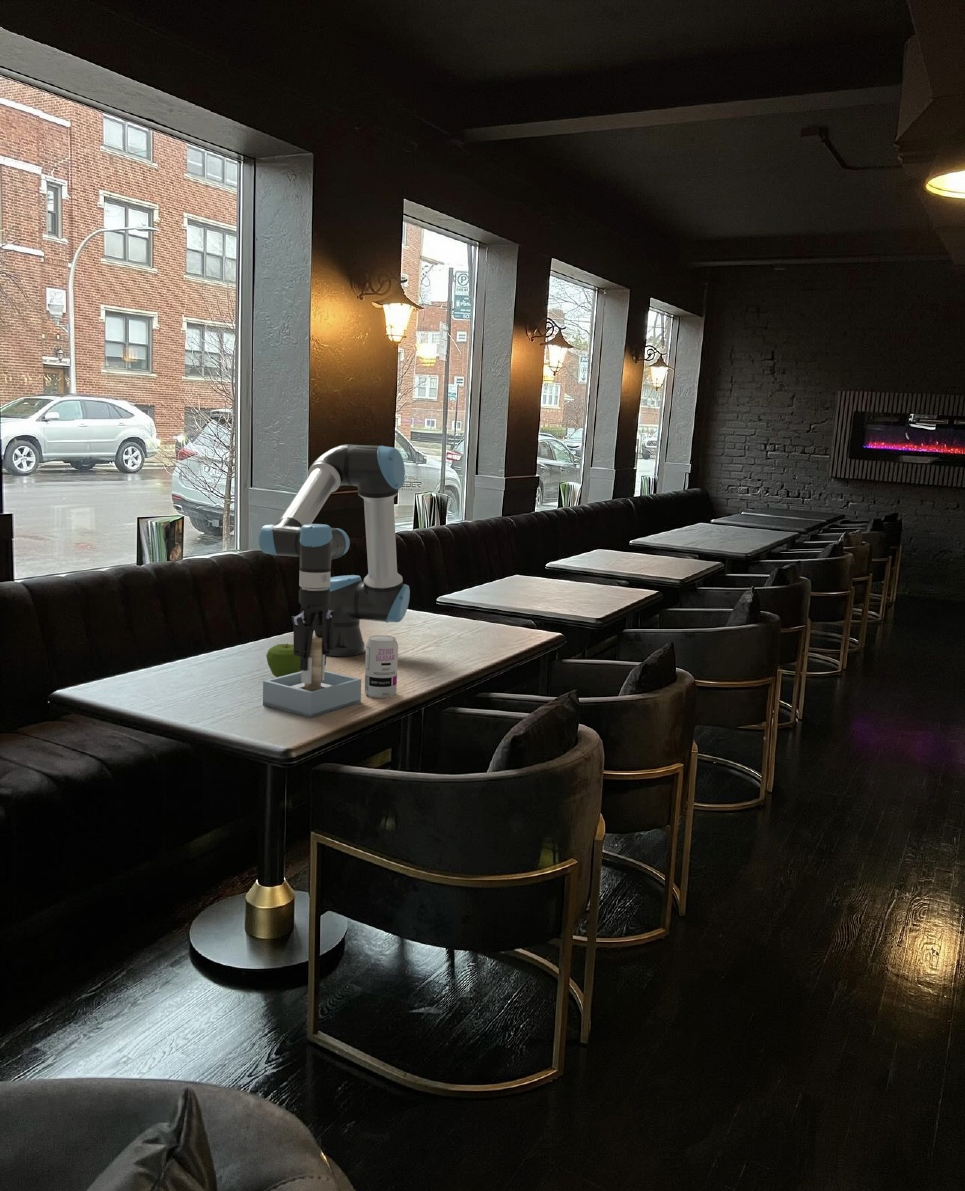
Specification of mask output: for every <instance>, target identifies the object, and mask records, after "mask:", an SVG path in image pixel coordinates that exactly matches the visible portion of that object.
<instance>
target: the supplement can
mask: <svg viewBox="0 0 965 1191" xmlns="http://www.w3.org/2000/svg"><path fill="white" fill-rule="evenodd" d="M398 655H399V643H398V642H397V638H396V637H394V636H392V635H382V634H379V635H371V636H369V637H368V639H367V641H366V643H365V665H364V666H365V667H364V668H365V669H364V693H365V695H367V696H368V697H369V698H375V699H387V698H391V697H394V696H395V695H396V693H397V688H398V687H397V686H398V683H397V682H398V659H399V658H398V657H399V656H398Z"/></svg>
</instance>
